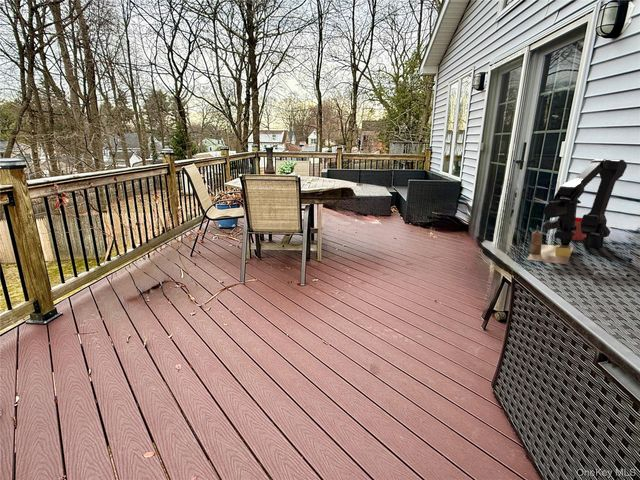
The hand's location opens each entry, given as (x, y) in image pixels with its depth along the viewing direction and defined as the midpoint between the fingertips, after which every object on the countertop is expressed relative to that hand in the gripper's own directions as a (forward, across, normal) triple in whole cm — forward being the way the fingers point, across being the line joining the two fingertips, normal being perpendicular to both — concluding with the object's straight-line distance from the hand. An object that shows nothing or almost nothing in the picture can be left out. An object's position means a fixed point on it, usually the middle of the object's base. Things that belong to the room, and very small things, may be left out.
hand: (564, 250), depth 148 cm
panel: (+2, +3, -4) cm, 6 cm away
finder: (+1, +4, 0) cm, 4 cm away
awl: (+1, +6, -10) cm, 11 cm away
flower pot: (+2, -31, +1) cm, 31 cm away
